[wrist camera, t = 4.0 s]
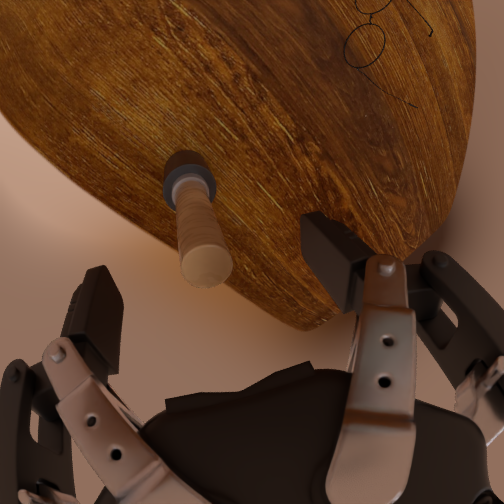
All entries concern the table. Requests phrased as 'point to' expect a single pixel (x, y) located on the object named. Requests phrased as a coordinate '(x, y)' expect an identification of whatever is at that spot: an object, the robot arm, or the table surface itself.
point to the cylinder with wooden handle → (196, 220)
